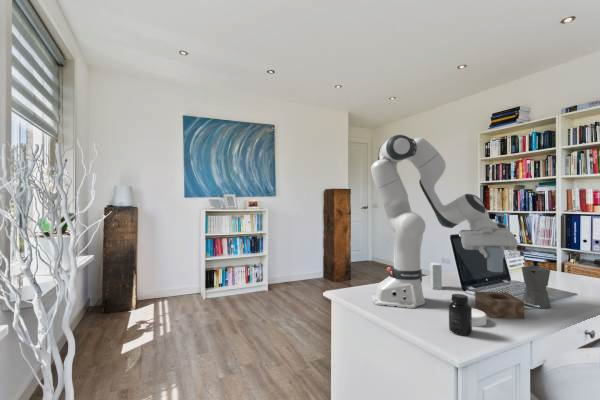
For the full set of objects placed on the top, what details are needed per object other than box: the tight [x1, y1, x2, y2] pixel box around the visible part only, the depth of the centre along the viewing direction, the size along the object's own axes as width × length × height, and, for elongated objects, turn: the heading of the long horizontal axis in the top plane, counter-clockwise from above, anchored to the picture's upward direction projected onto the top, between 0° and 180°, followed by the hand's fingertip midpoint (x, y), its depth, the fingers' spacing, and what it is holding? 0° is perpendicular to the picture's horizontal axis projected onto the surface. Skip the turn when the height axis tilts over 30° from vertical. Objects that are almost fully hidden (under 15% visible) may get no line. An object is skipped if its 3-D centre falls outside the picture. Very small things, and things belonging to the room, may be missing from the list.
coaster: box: [471, 307, 488, 327], centre depth 110 cm, size 10×10×4 cm
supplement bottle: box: [448, 293, 473, 336], centre depth 101 cm, size 7×7×12 cm
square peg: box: [486, 247, 504, 273], centre depth 120 cm, size 4×4×9 cm
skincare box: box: [429, 262, 443, 290], centre depth 152 cm, size 6×4×12 cm
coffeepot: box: [521, 260, 552, 310], centre depth 126 cm, size 15×9×18 cm, turn 136°
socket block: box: [474, 291, 526, 319], centre depth 118 cm, size 12×12×6 cm
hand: (495, 257), depth 120 cm, fingers closed on square peg, 4 cm apart
